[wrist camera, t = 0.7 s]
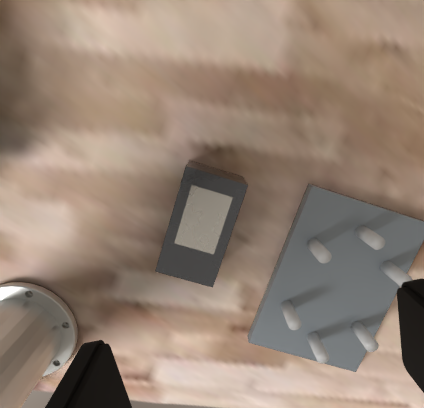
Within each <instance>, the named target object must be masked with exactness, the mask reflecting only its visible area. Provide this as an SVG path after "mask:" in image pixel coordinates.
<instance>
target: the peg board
mask: <svg viewBox="0 0 424 408" xmlns="http://www.w3.org/2000/svg"><path fill="white" fill-rule="evenodd" d="M423 241H424V221H422V220H419V219H416V218H413V217H410V216H407V215H404V214H401V213H398V212H395V211H391V210H388V209H385V208H382V207H379V206H376V205H373V204H370V203H367V202H364V201H361V200H358V199H354V198H351V197H348V196H345V195H342V194H339V193H336V192H333V191H330V190H327V189H324V188H321V187H317V186H314V185H311V184H309V185H308V187H307V190H306V192H305V195H304V197H303V199H302V202H301V204H300V207H299V209H298V212H297V214H296V217H295V219H294V222H293V224H292V227H291V229H290V232H289V234H288V237H287V239H286V242H285V244H284V247H283V249H282V252H281V254H280V257H279V259H278V262H277V264H276V267H275V269H274V272H273V274H272V277H271V279H270V281H269V284H268V286H267V289H266V291H265V294H264V296H263V299H262V301H261V304H260V306H259V309H258V311H257V314H256V316H255V319H254V321H253V324H252V326H251V329H250V331H249V334H248V341H249V343H252V344H255V345H259V346H263V347H266V348H270V349H274V350H277V351H281V352H285V353H288V354H292V355H296V356H299V357H303V358H306V359H310V360H314V361H317V362H319V363H325V364H328V365H332V366H336V367H339V368H343V369H347V370H350V371H354V372H356V371H357V369H358V367H359V365H360V363H361V361H362V359H363V357H364V355H365V353H366V351H369V352H374V351H376V350H377V349H378V343H377V341H376V340H375V339H374V336H375V334H376V332H377V330H378V328H379V326H380V324H381V322H382V320H383V318H384V316H385V314H386V313H387V311H388V309H389V307H390V305H391V303H392V301H393V299H394V297H395V295H396V293H397V289H398V288H399V287H401V285H402V283H403V282H407V281H412V278H411V277H410V276H409V275H408V274H407V272H408V270H409V268H410V266H411V264H412V262H413V260H414V258H415V256H416V254H417V252H418V250H419V249H420V247H421V245H422V243H423Z"/></svg>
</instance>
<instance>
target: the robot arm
mask: <svg viewBox="0 0 424 408" xmlns="http://www.w3.org/2000/svg"><path fill="white" fill-rule="evenodd" d="M397 299H398V311H399V324H400V336H401V348H402V359H403V363H404V366H405V368H406V370H407V372H408V373H409V374H410V376H411V377H412V378H413V380H414V381H415V382H416V383H417V385H418V386H419V387H420V389H421V390H422V391H423V392H424V279H417V280H412V281H407V282H403V283H402V285H401V288H398V289H397ZM77 339H78V329H77V324H76V320H75V318H74V316H73V313H72V312H71V310H70V309H69V307H68V306H67V305H66V304H65V303H64V302H63V301H62V299H61V298H59V297H58V296H57V295H55V294H54V293H53V292H51V291H49V290H47V289H45V288H43V287H41V286H38V285H34V284H30V283H24V282H11V283H6V284H1V285H0V408H21V407H22V405H23V404H24V402H25V401H26V399H27V398H28V396H29V395H30V393H31V392H32V390H33V389H34V387H35V386H36V384H37V383H38V381H39V380H40V378H41V377H42V376H46V375H49V374H51V373H53V372H55V371H57V370H58V369H60V368H61V367H62V366H63V365H64V364H65V363H66V362H67V361H68V359H69V358H70V356H71V355H72V353H73V351H74V349H75V347H76V343H77ZM45 408H132V406H131V404H130V401H129V398H128V395H127V392H126V389H125V387H124V384H123V381H122V378H121V375H120V373H119V370H118V367H117V364H116V361H115V359H114V356H113V353H112V350H111V347H110V345H109V344H105V343H104V342H103V341H102V340H99V341H93V342H88V343H84V344H83V345H82V346H81V348H80V349H79V351H78V353H77V355H76V356H75V358H74V360H73V361H72V363H71V365H70V366H69V368H68V370H67V371H66V373H65V375H64V377H63V378H62V380H61V382H60V383H59V385H58V387H57V388H56V390H55V392H54V394H53V395H52V397H51V399H50V401H49V402H48V404H47V405H46V407H45Z"/></svg>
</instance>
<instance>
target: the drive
mask: <svg viewBox="0 0 424 408" xmlns="http://www.w3.org/2000/svg"><path fill="white" fill-rule="evenodd" d="M247 187H248V184H247V183H246V181H245V180H244V178H243V177H242V176H238V175H235V174H232V173H229V172H226V171H222V170H219V169H216V168H213V167H209V166H206V165H203V164H200V163H196V162H193V161H190V160H189V162H188V163H187V165H186V168H185V171H184V174H183V178H182V181H181V185H180V188H179V192H178V195H177V199H176V202H175V205H174V209H173V212H172V216H171V219H170V223H169V226H168V229H167V233H166V236H165V240H164V243H163V247H162V250H161V254H160V257H159V260H158V264H157V267H156V272H159V273H163V274H166V275H170V276H174V277H177V278H181V279H184V280H188V281H192V282H195V283H199V284H202V285H206V286H210V287H213V285H214V282H215V279H216V277H217V274H218V271H219V268H220V265H221V262H222V259H223V256H224V253H225V250H226V248H227V245H228V242H229V239H230V236H231V233H232V230H233V227H234V224H235V221H236V218H237V216H238V213H239V210H240V207H241V204H242V201H243V198H244V195H245V192H246V189H247Z"/></svg>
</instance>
